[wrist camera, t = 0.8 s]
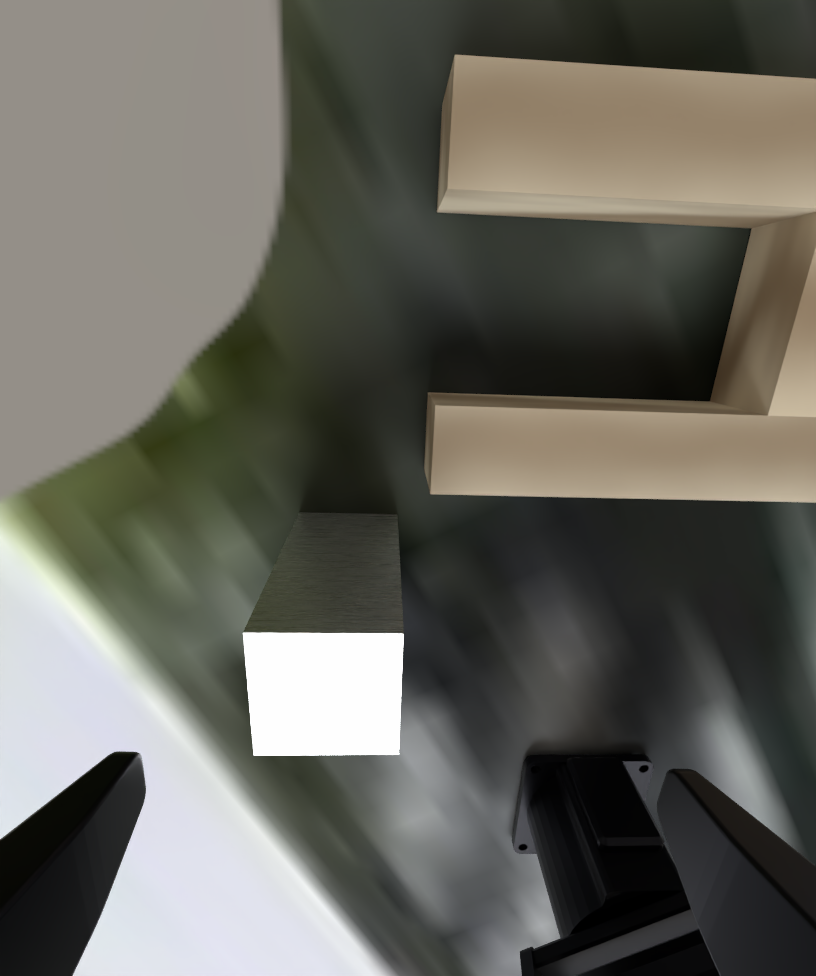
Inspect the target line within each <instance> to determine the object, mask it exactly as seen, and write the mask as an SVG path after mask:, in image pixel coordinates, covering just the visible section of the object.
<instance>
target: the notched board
mask: <svg viewBox="0 0 816 976" xmlns="http://www.w3.org/2000/svg"><path fill="white" fill-rule="evenodd" d="M437 212H440V213H459V214H479V215H499V216H518V217H538V218H558V219H577V220H597V221H617V222H636V223H656V224H676V225H695V226H715V227H735V228H752V229H751V234H750V238H749V242H748V246H747V250H746V254H745V258H744V263H743V267H742V271H741V275H740V279H739V283H738V287H737V291H736V296H735V300H734V304H733V308H732V312H731V316H730V320H729V325H728V329H727V333H726V337H725V341H724V345H723V349H722V354H721V358H720V362H719V366H718V370H717V374H716V378H715V383H714V387H713V391H712V395H711V399H710V401H679V400H648V399H617V398H585V397H554V396H523V395H492V394H461V393H430V392H428V401H427V421H426V441H425V461H424V470H425V474H426V478H427V482H428V486H429V490H430V494H446V495H492V496H538V497H585V498H631V499H678V500H724V501H770V502H816V79H810V78H795V77H781V76H766V75H751V74H736V73H721V72H706V71H691V70H677V69H662V68H647V67H632V66H617V65H602V64H587V63H573V62H558V61H543V60H528V59H513V58H498V57H483V56H469V55H455V56H454V60H453V64H452V68H451V72H450V76H449V80H448V84H447V88H446V92H445V96H444V100H443V104H442V121H441V141H440V161H439V181H438V201H437Z"/></svg>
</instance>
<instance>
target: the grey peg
mask: <svg viewBox="0 0 816 976" xmlns="http://www.w3.org/2000/svg"><path fill="white" fill-rule="evenodd" d="M403 634H404V633H403V613H402V594H401V574H400V555H399V535H398V515H397V514H356V513H304V512H299V514H298V516H297V518H296V520H295V523H294V525H293V527H292V529H291V531H290V533H289V535H288V538H287V540H286V542H285V544H284V546H283V548H282V550H281V552H280V555H279V557H278V559H277V561H276V563H275V565H274V567H273V570H272V572H271V574H270V576H269V578H268V580H267V582H266V585H265V587H264V589H263V591H262V593H261V595H260V597H259V600H258V602H257V604H256V606H255V608H254V610H253V612H252V615H251V617H250V619H249V621H248V623H247V625H246V627H245V630H244V632H243V638H244V649H245V661H246V672H247V683H248V694H249V706H250V717H251V728H252V739H253V751H254V755H394V754H399V734H400V709H401V684H402V659H403Z"/></svg>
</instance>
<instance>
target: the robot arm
mask: <svg viewBox="0 0 816 976" xmlns="http://www.w3.org/2000/svg"><path fill="white" fill-rule="evenodd" d="M653 769H654V766H653V764H652V763H651V761H650V759H649V758H648V756H646V755H642V754H639V755H532V756H529V757H527V758H526V759H525V761H524V764H523V771H522V777H521V784H520V790H519V797H518V803H517V810H516V816H515V823H514V830H513V836H512V843H513V847H514V850H515V852H517V853H519V854H537V856H538V860H539V863H540V867H541V870H542V874H543V878H544V881H545V885H546V888H547V892H548V895H549V899H550V903H551V906H552V910H553V913H554V917H555V920H556V924H557V928H558V931H559V935H560V939H558V940H555V941H553V942H550V943H548V944H545V945H543V946H540V947H538V948H535V949H534V948H533V947H530V948H527V949H524V950H522V951H520V959H521V970H522V976H816V866H815V865H814V864H812V863H811V862H810V861H809V860H807V859H806V858H805V857H804V856H802V855H801V854H800V853H799V852H797V851H796V850H795V849H794V848H792V847H791V846H790V845H788V844H787V843H786V842H785V841H783V840H782V839H781V838H780V837H778V836H777V835H776V834H775V833H773V832H772V831H771V830H770V829H768V828H767V827H766V826H765V825H763V824H762V823H761V822H759V821H758V820H757V819H756V818H754V817H753V816H752V815H751V814H749V813H748V812H747V811H746V810H744V809H743V808H742V807H741V806H739V805H738V804H737V803H736V802H734V801H733V800H732V799H730V798H729V797H728V796H727V795H725V794H724V793H723V792H722V791H720V790H719V789H718V788H717V787H715V786H714V785H713V784H712V783H710V782H709V781H708V780H707V779H705V778H704V777H703V776H701V775H700V774H699V773H697V772H696V771H694V770H691V769H670V770H669V771H668V772H667V773H666V776H665V779H664V782H663V785H662V788H661V792H660V795H659V798H658V801H657V813H658V817H659V821H660V823H661V826H662V829H663V832H664V835H665V837H666V840H667V843H668V846H669V848H670V851H671V854H672V856H671V854H670V852H669V851H668V849H667V847H666V845H665V843H664V838H663V836H662V834H661V832H660V831H659V829H658V827H657V825H656V823H655V821H654V819H653V818H652V816H651V814H650V812H649V810H648V808H647V806H646V804H645V803H644V802H645V798H646V795H647V791H648V787H649V784H650V780H651V776H652V773H653ZM145 794H146V786H145V778H144V770H143V762H142V757H141V755H140V754H139V753H137V752H114V753H112V754H110V755H108V756H107V757H106V758H104V759H103V760H102V761H100V762H99V763H98V764H97V765H95V766H94V767H93V768H91V769H90V770H89V771H88V772H86V773H85V774H84V775H82V776H81V777H80V778H79V779H77V780H76V781H75V782H73V783H72V784H71V785H70V786H68V787H67V788H66V789H64V790H63V791H62V792H61V793H59V794H58V795H57V796H55V797H54V798H53V799H52V800H50V801H49V802H48V803H46V804H45V805H44V806H43V807H41V808H40V809H39V810H37V811H36V812H35V813H34V814H32V815H31V816H30V817H28V818H27V819H26V820H25V821H23V822H22V823H21V824H19V825H18V826H17V827H16V828H14V829H13V830H12V831H10V832H9V833H8V834H7V835H5V836H4V837H3V838H1V839H0V976H72V975H73V973H74V971H75V969H76V967H77V965H78V963H79V961H80V959H81V957H82V955H83V953H84V950H85V948H86V946H87V944H88V942H89V940H90V938H91V936H92V934H93V931H94V929H95V927H96V925H97V923H98V920H99V918H100V916H101V914H102V911H103V909H104V906H105V904H106V901H107V899H108V896H109V893H110V891H111V888H112V885H113V883H114V880H115V878H116V875H117V872H118V870H119V867H120V864H121V862H122V859H123V856H124V854H125V851H126V849H127V846H128V843H129V841H130V838H131V835H132V833H133V830H134V827H135V825H136V822H137V820H138V817H139V814H140V812H141V809H142V806H143V803H144V799H145ZM672 857H673V858H672Z"/></svg>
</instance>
